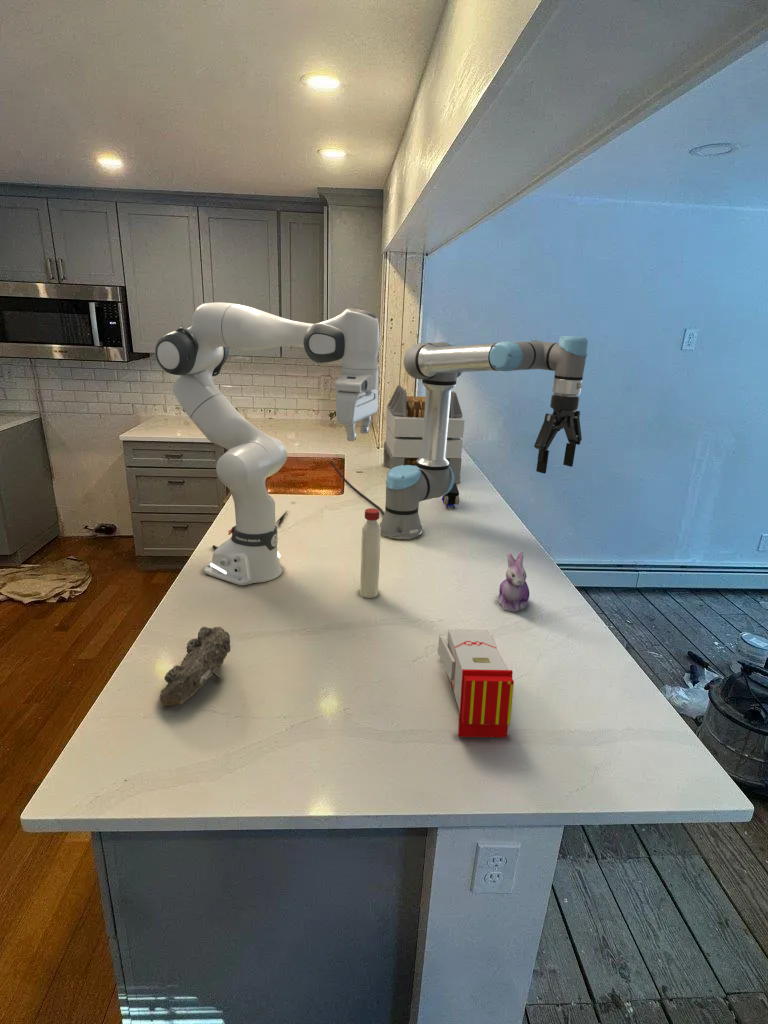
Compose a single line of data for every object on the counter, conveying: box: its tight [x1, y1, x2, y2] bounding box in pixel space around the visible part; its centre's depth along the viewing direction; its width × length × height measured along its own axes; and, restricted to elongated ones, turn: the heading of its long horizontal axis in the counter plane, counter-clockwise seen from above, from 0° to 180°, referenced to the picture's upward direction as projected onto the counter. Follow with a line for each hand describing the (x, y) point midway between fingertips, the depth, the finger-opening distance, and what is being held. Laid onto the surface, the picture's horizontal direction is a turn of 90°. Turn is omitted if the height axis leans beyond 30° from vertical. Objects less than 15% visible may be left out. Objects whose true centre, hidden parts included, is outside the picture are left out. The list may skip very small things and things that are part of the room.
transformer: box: [383, 384, 465, 484], centre depth 268 cm, size 34×33×41 cm
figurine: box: [497, 551, 530, 612], centre depth 152 cm, size 9×10×15 cm
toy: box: [437, 628, 515, 738], centre depth 117 cm, size 12×13×30 cm
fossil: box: [159, 626, 232, 707], centre depth 118 cm, size 22×10×15 cm
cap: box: [364, 507, 380, 521], centre depth 150 cm, size 4×4×2 cm
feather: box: [275, 510, 288, 528], centre depth 213 cm, size 2×28×2 cm
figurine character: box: [441, 483, 460, 509], centre depth 231 cm, size 7×8×15 cm
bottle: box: [359, 519, 382, 599], centre depth 153 cm, size 5×5×24 cm
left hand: (358, 436), depth 141 cm, fingers open, 8 cm apart
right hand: (554, 469), depth 164 cm, fingers open, 13 cm apart
